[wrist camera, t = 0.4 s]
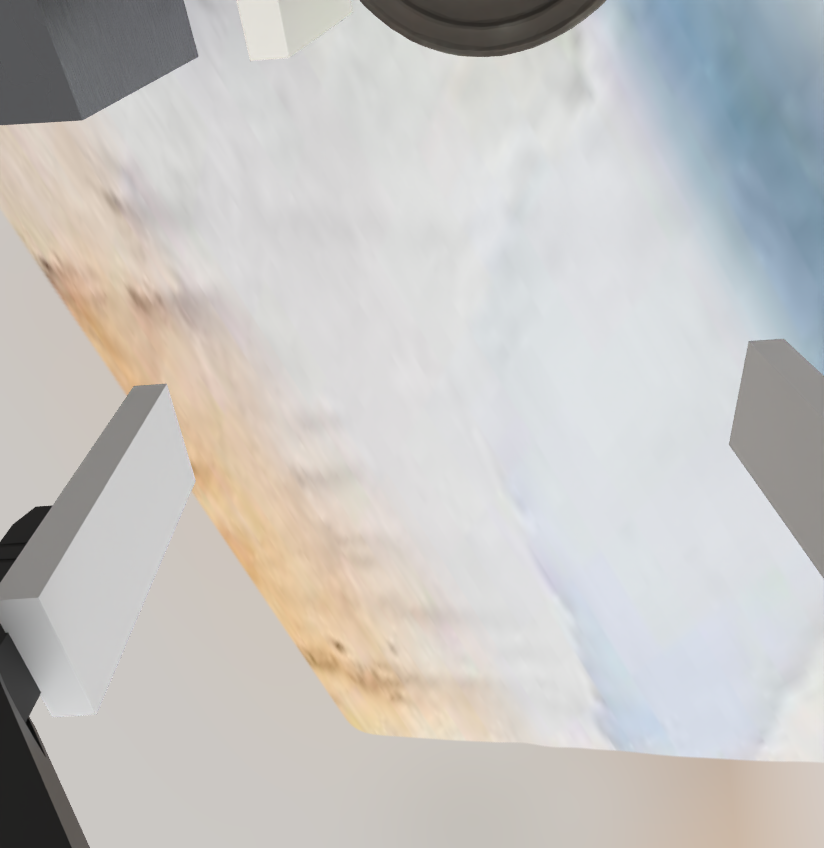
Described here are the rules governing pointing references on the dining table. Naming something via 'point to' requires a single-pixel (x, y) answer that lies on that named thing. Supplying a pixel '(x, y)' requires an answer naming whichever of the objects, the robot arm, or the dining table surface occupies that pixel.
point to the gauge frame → (85, 54)
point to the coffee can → (481, 22)
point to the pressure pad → (287, 24)
